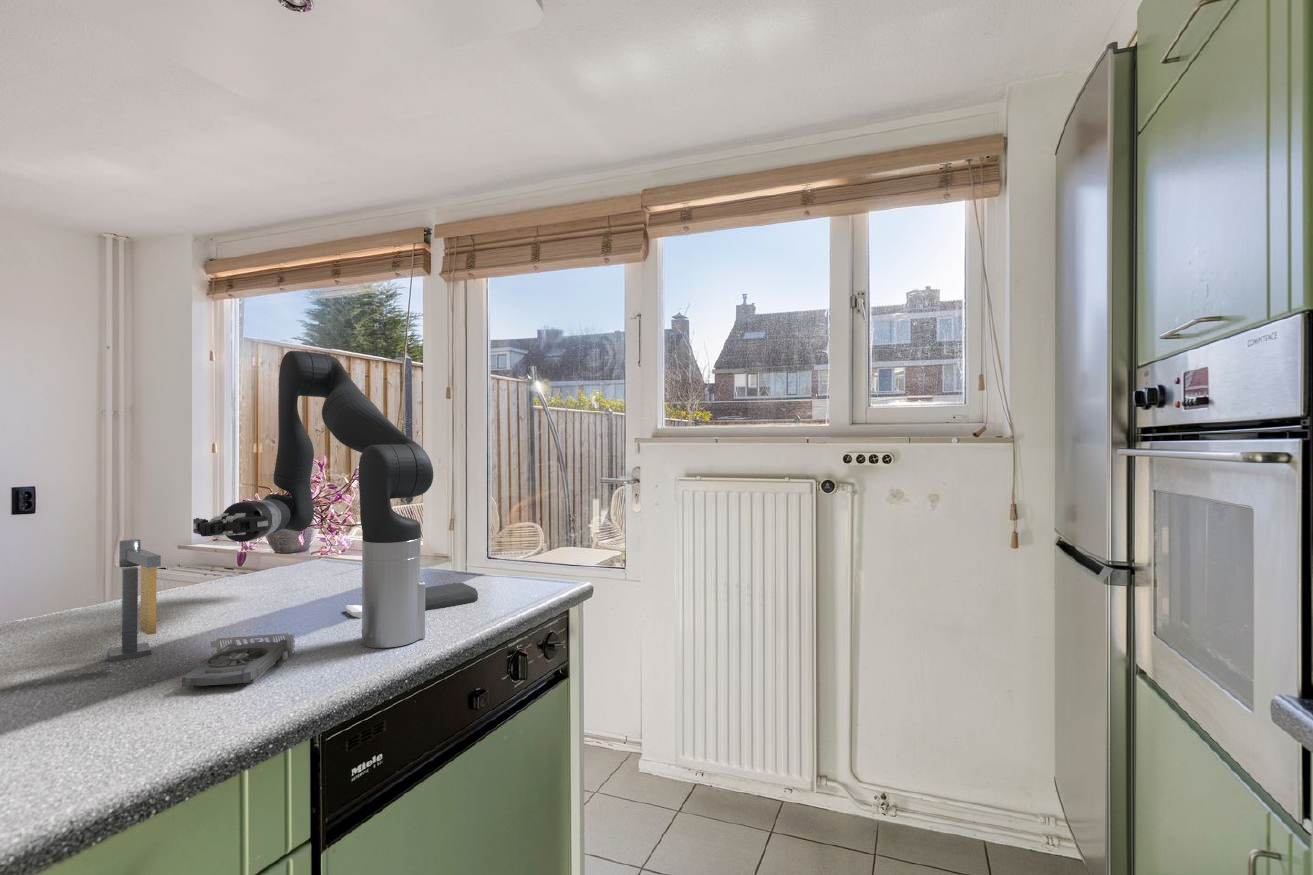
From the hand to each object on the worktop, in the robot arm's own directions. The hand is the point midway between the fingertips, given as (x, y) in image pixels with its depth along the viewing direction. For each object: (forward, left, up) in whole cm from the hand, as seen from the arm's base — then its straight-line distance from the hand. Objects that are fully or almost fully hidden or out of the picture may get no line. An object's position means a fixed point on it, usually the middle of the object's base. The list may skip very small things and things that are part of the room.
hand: (205, 530), depth 110 cm
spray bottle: (-36, 0, -19) cm, 41 cm away
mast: (+10, -1, -19) cm, 21 cm away
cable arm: (+9, +4, -14) cm, 17 cm away
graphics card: (0, +19, -20) cm, 27 cm away
